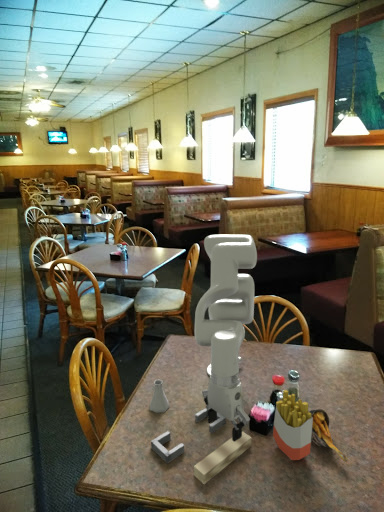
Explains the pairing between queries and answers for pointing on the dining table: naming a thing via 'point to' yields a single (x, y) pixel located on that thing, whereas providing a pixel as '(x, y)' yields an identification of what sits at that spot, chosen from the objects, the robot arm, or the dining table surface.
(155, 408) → the flask
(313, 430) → the fried food
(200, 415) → the end cap
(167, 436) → the end cap
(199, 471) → the birch slat
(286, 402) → the french fries container
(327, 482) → the dining table surface
